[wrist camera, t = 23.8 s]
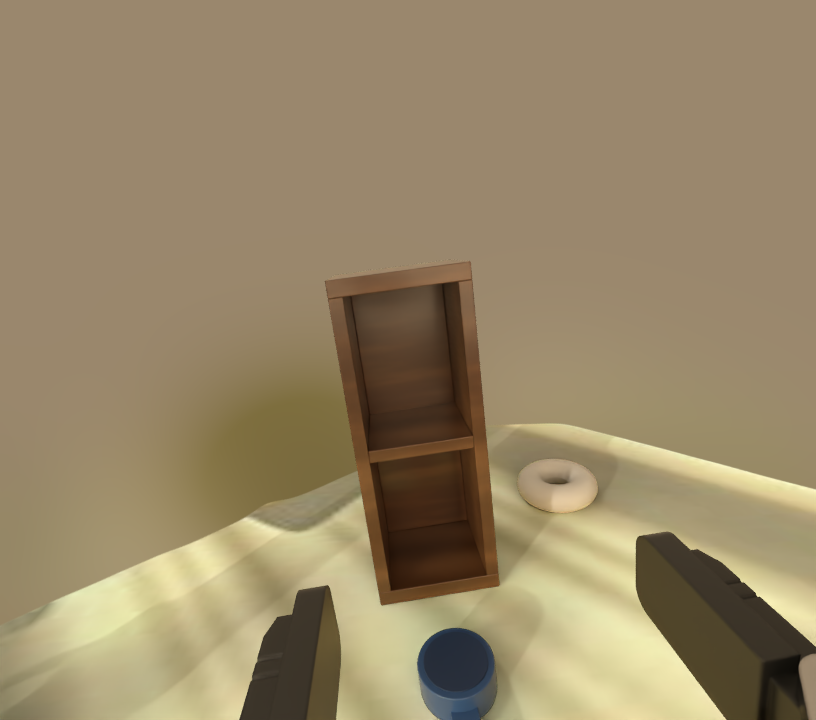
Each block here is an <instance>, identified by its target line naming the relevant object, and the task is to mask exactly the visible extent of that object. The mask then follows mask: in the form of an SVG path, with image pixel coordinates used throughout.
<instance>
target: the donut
mask: <svg viewBox="0 0 816 720" xmlns="http://www.w3.org/2000/svg"><path fill="white" fill-rule="evenodd" d="M553 483H555V484H553ZM557 484H560V485H557ZM517 487H518V490H519V492H520V495H521V496H522V497H523V498H524V499H525V500H526V501H527V502H528V503H529V504H531V505H533V506H535V507H537V508H538V509H541V510H545V511H549V512H556V513H567V512H574V511H577V510H580V509H583V508H585V507H587V506H588V505H589V504H591V503H592V502H593V500H594V499H595V497H596V495H597V492H598V487H597V481H596V478H595V477H594V475H593V474H592V473H591V472H590V470H588V469H587V468H585V467H584V466H582V465H581V464H578V463H575V462H573V461H569V460H564V459H543V460H538V461H535V462H532V463H530V464H529V465H527V466H525V467H524V468H523V469H522V471H521V472H520V473H519V475H518V480H517Z"/></svg>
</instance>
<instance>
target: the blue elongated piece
mask: <svg viewBox="0 0 816 720" xmlns="http://www.w3.org/2000/svg"><path fill="white" fill-rule="evenodd" d="M417 666H418V674H419V681H420V687H421V693H422V697H423V700H424V702H425V704H426V706H427V707H428V709H429V710H430V711H431V712H432V713H433V714H434V715H435V716H436V717H438V718H439V719H441V720H481V719H480V718H481V717H483V716H484V715H485V714H486V713H487V712H488V711H489V709H490V708H491V707H492V705H493V703H494V701H495V698H496V693H497V680H496V670H495V659H494V655H493V652H492V650H491V648H490V646H489V645H488V643H487V642H486V641H485V640H484V639H483V638H482V637H481V636H480V635H478V634H476V633H475V632H473V631H470V630H467V629H462V628H450V629H445V630H442V631H440V632H438V633H436V634H434V635H433V636H431V637H430V638H429V639H428V640H427V641H426V642H425V643H424V645H423V646H422V648H421V650H420V653H419V656H418V662H417Z"/></svg>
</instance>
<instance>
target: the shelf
mask: <svg viewBox="0 0 816 720" xmlns="http://www.w3.org/2000/svg"><path fill="white" fill-rule="evenodd" d="M325 284H326V291H327V296H328V302H329V308H330V314H331V320H332V325H333V331H334V337H335V343H336V348H337V354H338V360H339V366H340V372H341V377H342V383H343V389H344V395H345V401H346V406H347V412H348V418H349V423H350V429H351V435H352V441H353V446H354V452H355V458H356V464H357V469H358V475H359V481H360V487H361V493H362V499H363V504H364V510H365V516H366V522H367V527H368V533H369V539H370V545H371V550H372V556H373V562H374V568H375V574H376V579H377V585H378V591H379V596H380V602H381V605H386V604H392V603H398V602H404V601H410V600H416V599H423V598H429V597H435V596H441V595H447V594H453V593H459V592H465V591H471V590H477V589H483V588H489V587H496V586H499V585H500V584H499V574H498V562H497V550H496V539H495V528H494V517H493V506H492V495H491V483H490V472H489V461H488V450H487V439H486V428H485V417H484V406H483V394H482V383H481V372H480V361H479V350H478V339H477V327H476V316H475V305H474V294H473V283H472V272H471V262H470V261H460V260H443V261H436V262H428V263H421V264H414V265H406V266H399V267H392V268H384V269H376V270H368V271H361V272H353V273H346V274H338V275H335V276H334V277H331V278H330V279H328V280H326V281H325Z"/></svg>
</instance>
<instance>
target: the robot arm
mask: <svg viewBox="0 0 816 720" xmlns="http://www.w3.org/2000/svg"><path fill="white" fill-rule="evenodd" d="M636 590H637V594H638V597H639V600H640V602H641V605H642V607H643V609H644V610H645V612H646V613H647V615H648V616H649V617H650V619H651V620H652V621H653V623H654V624H655V625H656V627H657V628H658V629H659V631H660V632H661V633H662V635H663V636H664V637H665V639H666V640H667V641H668V643H669V644H670V645H671V647H672V648H673V649H674V651H675V652H676V653H677V655H678V656H679V657H680V659H681V660H682V661H683V663H684V664H685V665H686V667H687V668H688V669H689V671H690V672H691V673H692V675H693V676H694V677H695V678H696V680H697V681H698V682H699V684H700V685H701V686H702V688H703V689H704V690H705V692H706V693H707V694H708V696H709V697H710V698H711V700H712V701H713V702H714V704H715V705H716V706H717V708H718V709H719V710H720V712H721V713H722V714H723V716H724V717H725V718H726V720H816V647H815V646H814V645H813V644H812V643H811V642H810V641H809V640H808V639H806V638H805V637H804V636H803V635H802V634H801V633H800V632H799V631H798V630H796V629H795V628H794V627H793V626H792V625H791V624H790V623H789V622H787V621H786V620H785V619H784V618H783V617H782V616H781V615H780V614H778V613H777V612H776V611H775V610H774V609H773V608H772V607H771V606H770V605H768V604H767V603H766V602H765V601H764V600H763V599H762V598H761V597H757V596H756V593H755V592H754V591H753V590H752V589H751V588H749V587H748V586H747V585H746V584H745V583H744V582H743V583H742V582H741V581H740V579H739V578H738V577H737V576H736V575H735V574H734V573H733V572H732V571H730V570H729V569H728V568H727V567H726V566H725V565H724V564H723V563H721V562H720V561H718V560H716V559H714V558H712V557H711V556H709V555H707V554H705V553H703V552H701V551H699V550H698V549H696V550H690V549H689V548H688V547H687V546H685V545H684V544H683V543H682V542H681V541H680V540H679V539H678V538H677V537H676V536H675V535H674V534H672V533H671V532H662V533H655V534H649V535H643V536H639V537H638V538H637V540H636ZM257 659H258V661H257V663H256V665H255V668H254V672H253V675H252V681H251V682H250V685H249V689H248V692H247V695H246V699H245V702H244V706H243V709H242V713H241V716H240V719H239V720H336V713H337V701H338V689H339V678H340V666H341V644H340V635H339V630H338V625H337V620H336V615H335V610H334V605H333V601H332V596H331V591H330V588H329V586H328V585H327V586H321V587H315V588H309V589H303V590H299V591H298V593H297V596H296V600H295V604H294V609H293V613H292V615H287V616H280V617H277V618H276V620H275V621H274V623H273V624H272V626H271V627H270V628H269V630H268V631H267V633H266V634H265V636H264V637H263V641H262V644H261V648H260V651H259V654H258V658H257Z"/></svg>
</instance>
